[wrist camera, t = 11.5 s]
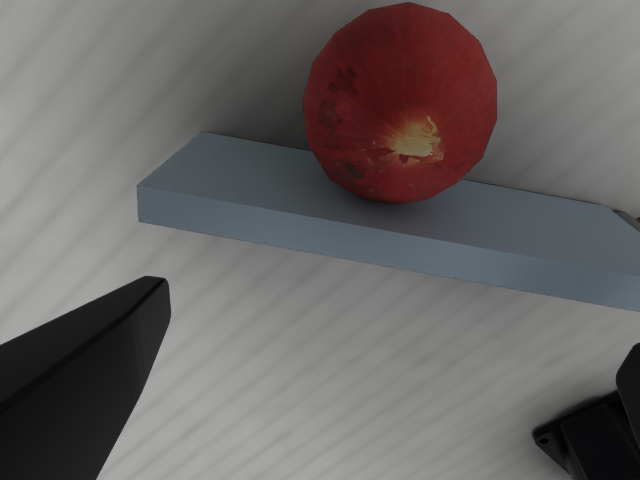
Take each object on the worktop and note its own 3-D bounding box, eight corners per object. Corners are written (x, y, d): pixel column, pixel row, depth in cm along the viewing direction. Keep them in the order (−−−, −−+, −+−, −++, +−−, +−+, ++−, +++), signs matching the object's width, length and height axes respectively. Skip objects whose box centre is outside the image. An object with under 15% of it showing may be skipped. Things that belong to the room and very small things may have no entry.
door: (636, 211, 18) (765, 305, 12) (621, 236, 18) (738, 336, 13) (202, 131, 17) (130, 190, 12) (201, 159, 18) (132, 227, 12)
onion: (359, 185, 18) (362, 294, 11) (285, 65, 16) (232, 108, 9) (488, 115, 17) (585, 193, 10) (423, -31, 14) (488, -69, 7)
